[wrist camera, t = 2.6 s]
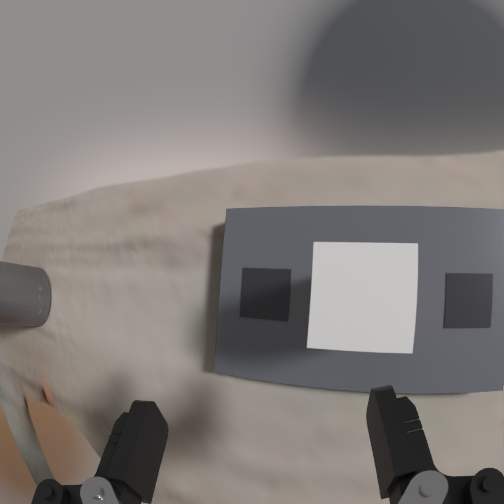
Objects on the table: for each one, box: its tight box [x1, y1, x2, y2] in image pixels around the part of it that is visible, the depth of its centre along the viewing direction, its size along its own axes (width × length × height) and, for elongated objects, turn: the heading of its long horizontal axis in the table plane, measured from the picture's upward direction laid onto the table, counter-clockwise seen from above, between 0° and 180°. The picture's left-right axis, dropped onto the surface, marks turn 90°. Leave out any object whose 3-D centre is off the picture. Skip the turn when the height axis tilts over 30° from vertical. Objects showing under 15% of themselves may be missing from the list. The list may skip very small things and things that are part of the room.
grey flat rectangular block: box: [214, 206, 504, 394], centre depth 24 cm, size 24×14×3 cm, turn 86°
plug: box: [307, 242, 418, 353], centre depth 19 cm, size 4×4×14 cm
